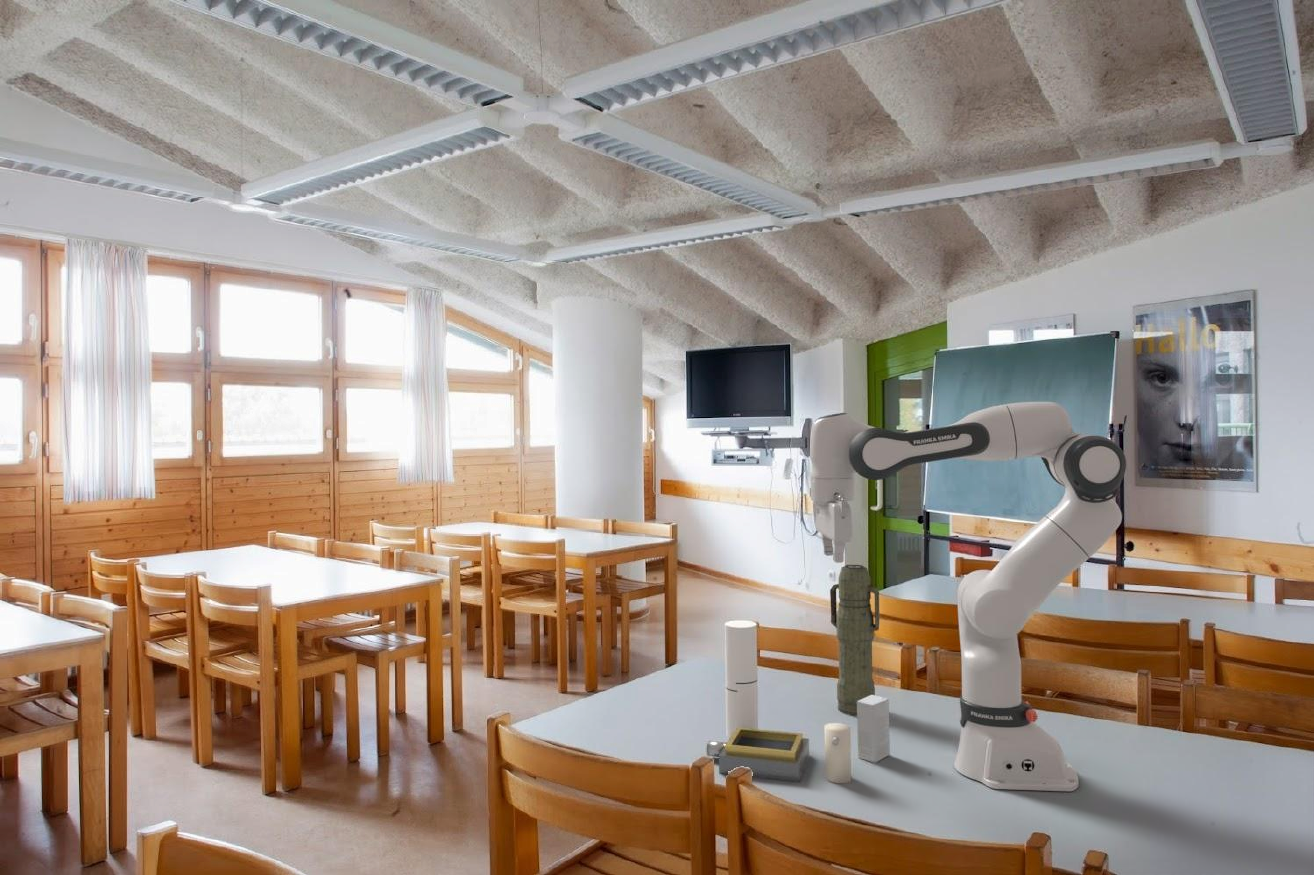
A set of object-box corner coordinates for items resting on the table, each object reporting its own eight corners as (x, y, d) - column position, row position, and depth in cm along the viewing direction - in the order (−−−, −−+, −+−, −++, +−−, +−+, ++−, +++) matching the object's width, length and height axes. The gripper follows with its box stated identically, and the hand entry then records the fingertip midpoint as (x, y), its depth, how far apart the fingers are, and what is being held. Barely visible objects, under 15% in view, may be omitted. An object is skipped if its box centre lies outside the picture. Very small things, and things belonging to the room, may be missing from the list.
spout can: (852, 774, 168) (851, 724, 168) (849, 788, 162) (848, 736, 161) (826, 771, 169) (825, 721, 169) (822, 785, 163) (821, 733, 163)
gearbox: (809, 755, 178) (808, 731, 178) (799, 782, 165) (798, 756, 165) (716, 745, 184) (716, 722, 184) (699, 770, 171) (699, 746, 171)
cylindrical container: (756, 741, 186) (755, 628, 186) (724, 739, 188) (722, 627, 187) (759, 730, 193) (757, 620, 193) (728, 728, 195) (726, 619, 194)
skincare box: (872, 749, 180) (871, 693, 180) (890, 755, 177) (889, 698, 177) (856, 758, 176) (856, 700, 176) (874, 763, 173) (874, 705, 173)
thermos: (835, 701, 213) (834, 562, 212) (883, 707, 208) (882, 564, 207) (827, 712, 205) (825, 567, 204) (876, 718, 200) (874, 570, 199)
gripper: (859, 495, 165) (860, 566, 165) (836, 488, 185) (837, 551, 185) (827, 496, 165) (828, 566, 165) (808, 488, 185) (809, 551, 185)
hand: (833, 558), depth 175 cm, fingers open, 8 cm apart
